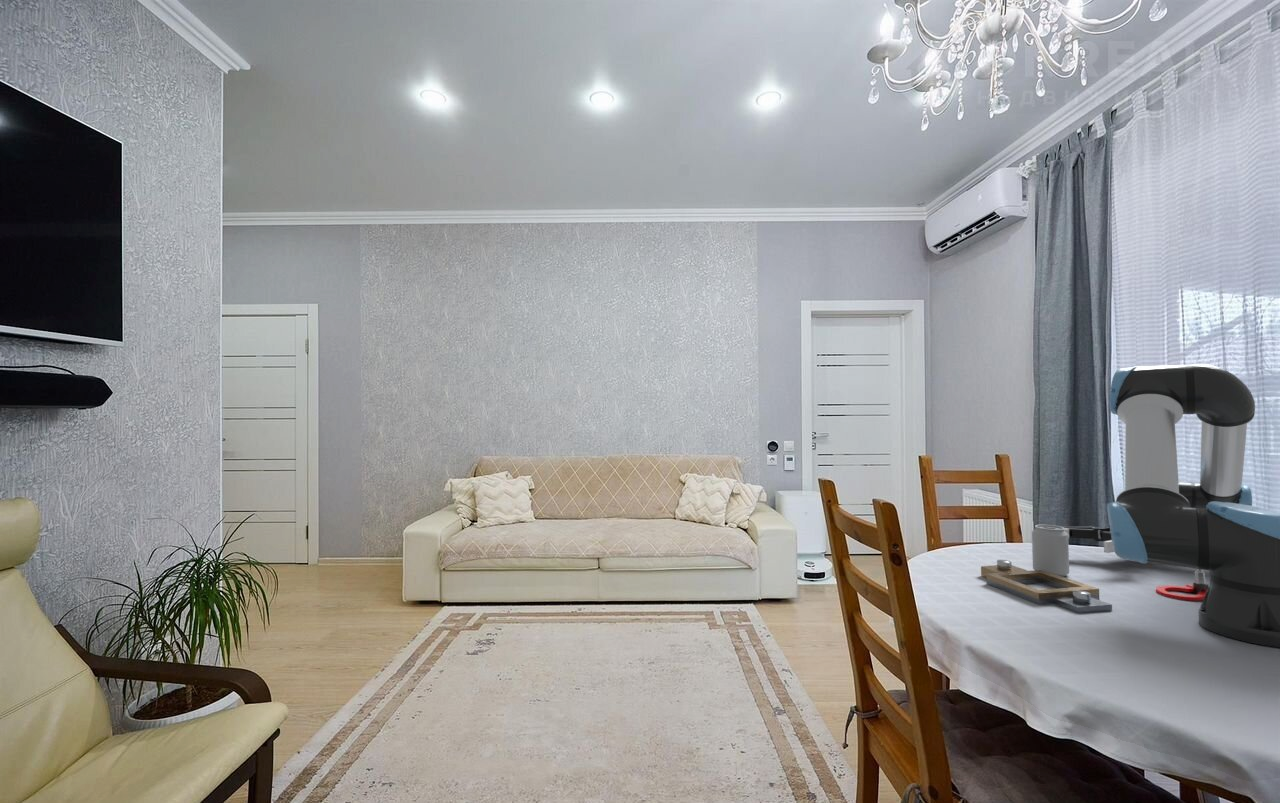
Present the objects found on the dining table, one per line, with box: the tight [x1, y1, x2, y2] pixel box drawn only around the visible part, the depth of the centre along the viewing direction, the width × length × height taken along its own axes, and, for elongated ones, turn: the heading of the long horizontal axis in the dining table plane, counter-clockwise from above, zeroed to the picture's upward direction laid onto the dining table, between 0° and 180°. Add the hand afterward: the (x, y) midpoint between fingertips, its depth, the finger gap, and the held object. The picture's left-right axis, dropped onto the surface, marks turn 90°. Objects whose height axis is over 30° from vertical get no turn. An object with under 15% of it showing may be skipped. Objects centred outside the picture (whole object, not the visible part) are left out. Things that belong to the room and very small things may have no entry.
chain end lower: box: [985, 578, 1113, 614], centre depth 129 cm, size 21×15×3 cm
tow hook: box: [1155, 569, 1210, 602], centre depth 128 cm, size 8×13×9 cm
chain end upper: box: [980, 559, 1100, 599], centre depth 135 cm, size 21×15×4 cm
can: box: [1031, 524, 1070, 578], centre depth 145 cm, size 8×8×12 cm
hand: (1076, 541), depth 148 cm, fingers open, 13 cm apart
